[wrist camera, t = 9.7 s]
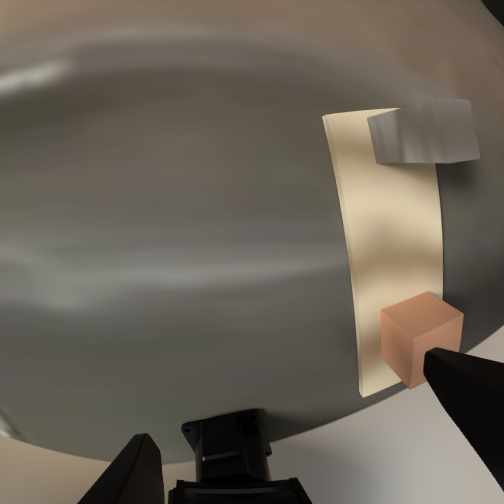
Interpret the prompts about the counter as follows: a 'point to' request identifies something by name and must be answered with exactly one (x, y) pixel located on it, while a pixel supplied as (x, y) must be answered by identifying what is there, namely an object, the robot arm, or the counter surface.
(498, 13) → the high-heeled shoe
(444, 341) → the block
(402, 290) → the strip
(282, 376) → the counter surface
